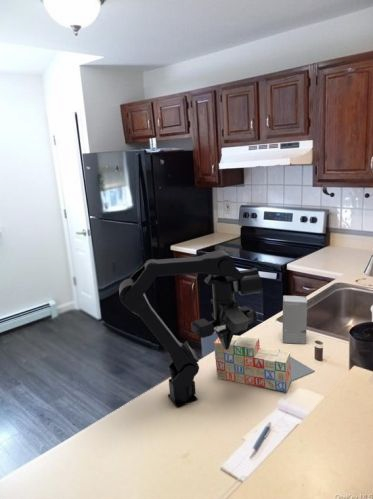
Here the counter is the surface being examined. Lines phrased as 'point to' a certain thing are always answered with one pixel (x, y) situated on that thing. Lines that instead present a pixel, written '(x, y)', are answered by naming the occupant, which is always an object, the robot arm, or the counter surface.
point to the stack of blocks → (253, 364)
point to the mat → (298, 369)
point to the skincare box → (294, 319)
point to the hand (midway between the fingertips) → (226, 349)
